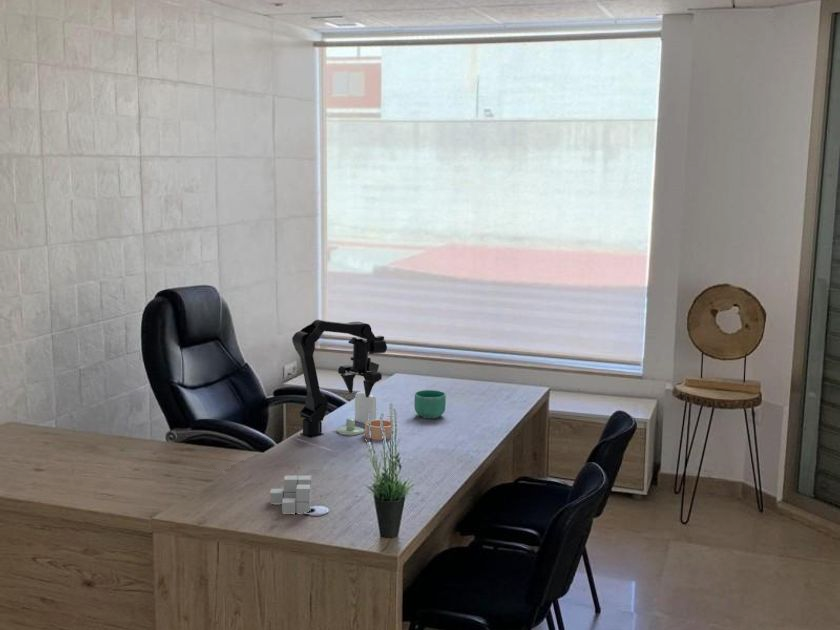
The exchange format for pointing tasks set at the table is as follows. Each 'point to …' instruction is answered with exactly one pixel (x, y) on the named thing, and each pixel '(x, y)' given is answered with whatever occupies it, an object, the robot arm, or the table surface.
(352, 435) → the mat
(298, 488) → the puzzle cube
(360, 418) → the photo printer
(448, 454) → the table surface
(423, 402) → the mug
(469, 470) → the table surface
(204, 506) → the table surface
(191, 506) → the table surface
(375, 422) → the bowl
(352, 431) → the lid
